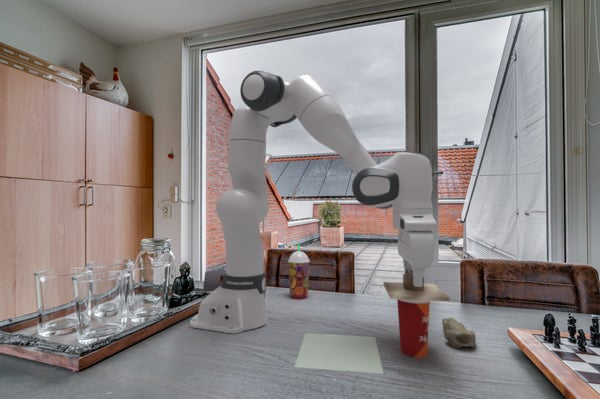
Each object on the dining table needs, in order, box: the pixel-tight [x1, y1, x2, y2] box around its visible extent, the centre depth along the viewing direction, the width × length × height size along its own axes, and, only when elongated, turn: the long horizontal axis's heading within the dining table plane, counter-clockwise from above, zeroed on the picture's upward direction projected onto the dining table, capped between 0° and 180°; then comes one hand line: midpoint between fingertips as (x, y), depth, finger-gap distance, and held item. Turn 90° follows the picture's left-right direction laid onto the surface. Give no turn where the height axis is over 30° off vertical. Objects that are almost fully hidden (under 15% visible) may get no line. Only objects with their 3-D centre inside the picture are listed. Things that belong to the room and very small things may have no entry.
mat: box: [294, 332, 384, 375], centre depth 72 cm, size 18×18×1 cm
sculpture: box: [441, 317, 477, 349], centre depth 80 cm, size 7×5×15 cm
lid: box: [383, 273, 450, 302], centre depth 72 cm, size 12×12×4 cm
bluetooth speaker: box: [202, 269, 267, 294], centre depth 120 cm, size 23×9×10 cm, turn 94°
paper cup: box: [396, 299, 432, 359], centre depth 72 cm, size 8×8×14 cm
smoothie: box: [287, 243, 311, 300], centre depth 118 cm, size 8×8×20 cm
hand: (412, 281), depth 72 cm, fingers open, 8 cm apart
